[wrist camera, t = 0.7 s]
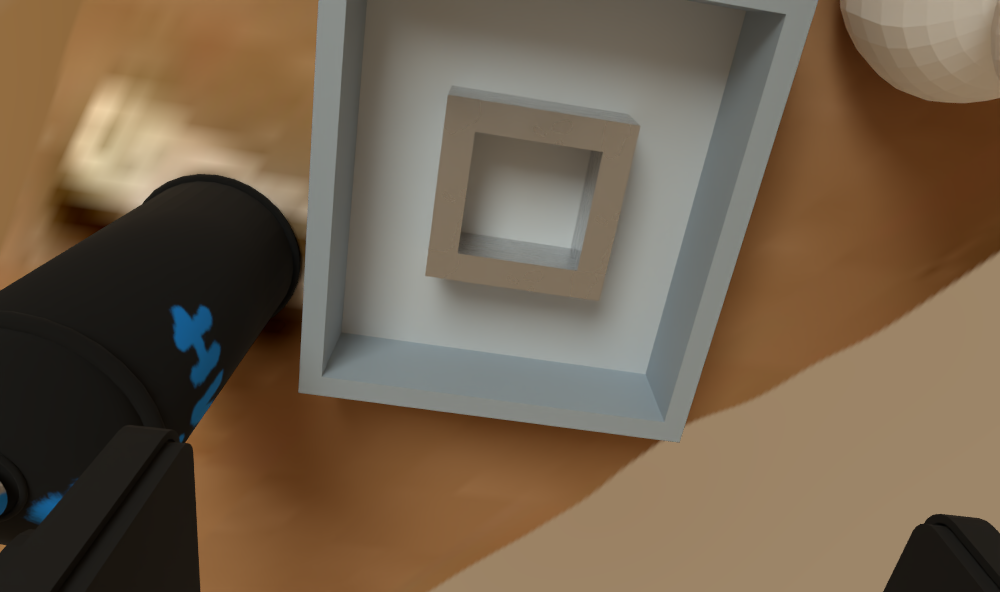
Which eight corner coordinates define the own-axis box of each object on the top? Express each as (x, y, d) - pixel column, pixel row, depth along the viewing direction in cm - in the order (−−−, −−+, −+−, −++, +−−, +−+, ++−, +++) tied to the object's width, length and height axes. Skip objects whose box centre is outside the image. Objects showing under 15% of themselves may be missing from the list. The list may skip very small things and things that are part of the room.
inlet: (452, 85, 31) (447, 94, 28) (627, 113, 32) (640, 125, 29) (430, 252, 34) (425, 275, 31) (591, 276, 35) (599, 301, 32)
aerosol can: (111, 279, 36) (-299, 587, 17) (169, 140, 33) (-244, 330, 14) (261, 354, 37) (34, 705, 19) (329, 228, 35) (141, 497, 16)
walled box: (352, -85, 29) (323, -100, 24) (769, -11, 30) (821, -11, 25) (324, 339, 37) (298, 392, 32) (656, 384, 38) (679, 442, 33)
